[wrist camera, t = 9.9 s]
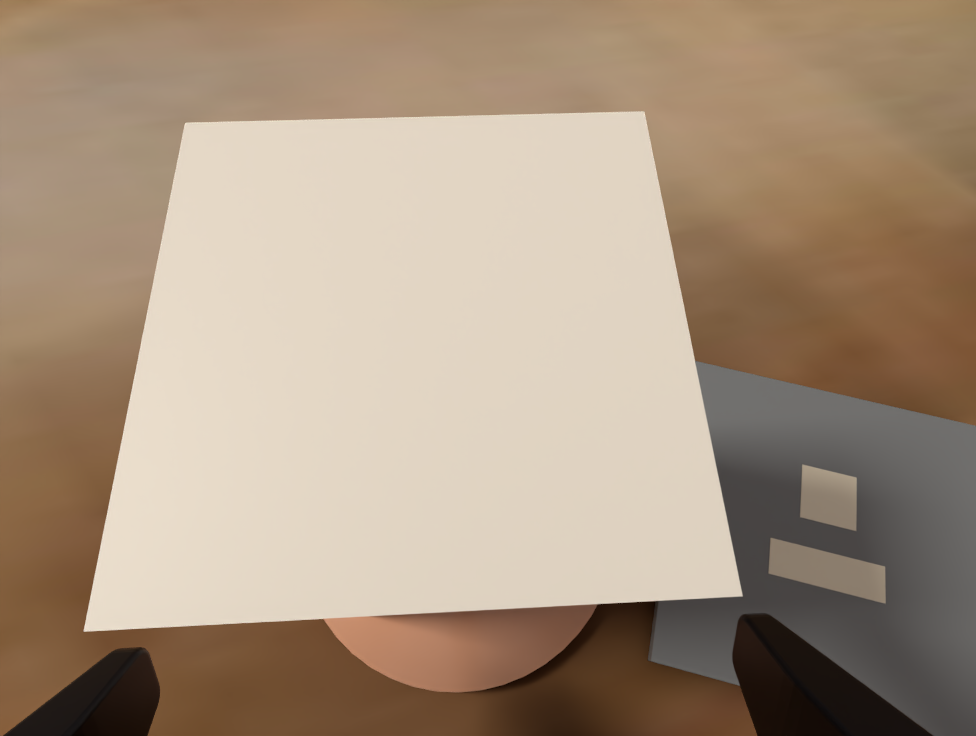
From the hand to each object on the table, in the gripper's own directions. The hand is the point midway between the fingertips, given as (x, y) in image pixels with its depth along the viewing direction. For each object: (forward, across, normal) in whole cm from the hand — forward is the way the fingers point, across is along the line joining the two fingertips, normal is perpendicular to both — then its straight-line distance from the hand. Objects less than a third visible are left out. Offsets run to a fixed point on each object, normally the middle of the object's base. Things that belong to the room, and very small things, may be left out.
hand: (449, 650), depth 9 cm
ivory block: (+7, 0, +3) cm, 8 cm away
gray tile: (+7, -11, +4) cm, 13 cm away
